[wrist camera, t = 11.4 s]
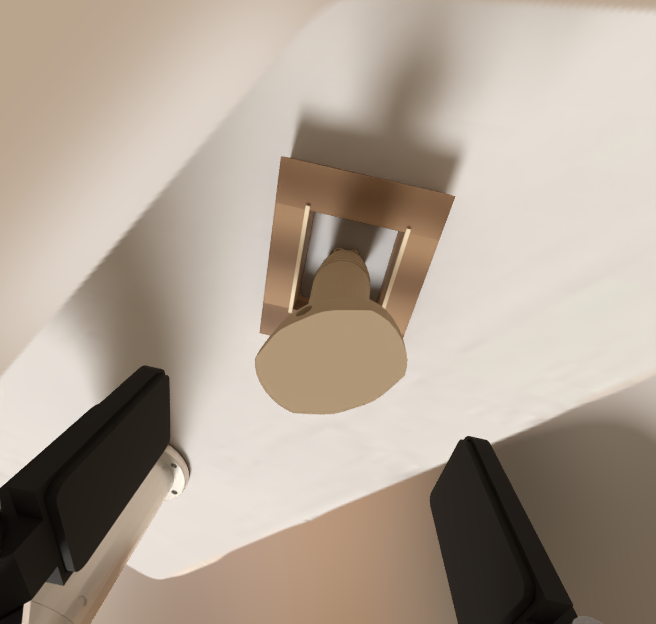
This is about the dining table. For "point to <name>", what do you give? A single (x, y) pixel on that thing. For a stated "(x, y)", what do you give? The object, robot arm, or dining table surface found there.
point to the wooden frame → (358, 205)
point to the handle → (333, 344)
